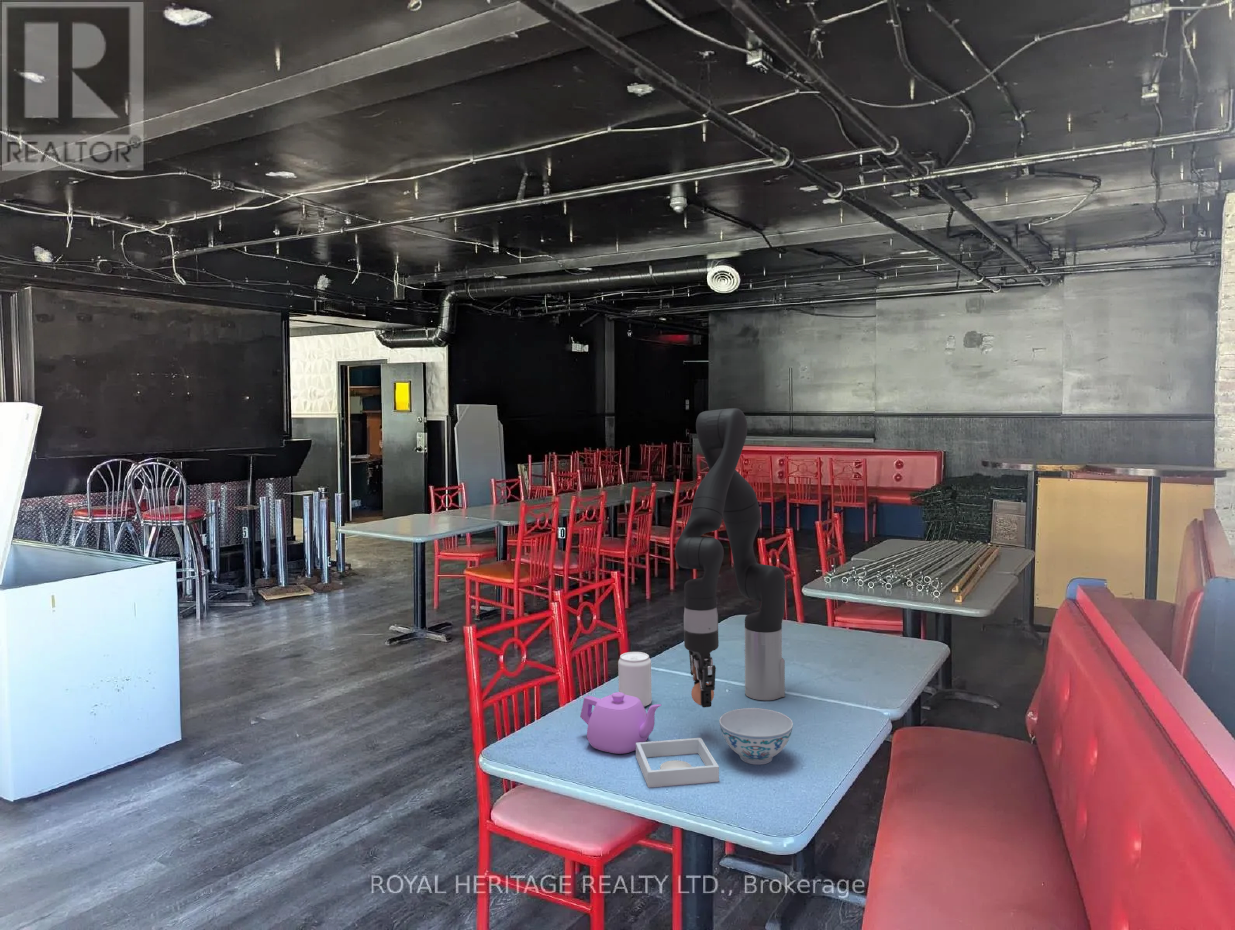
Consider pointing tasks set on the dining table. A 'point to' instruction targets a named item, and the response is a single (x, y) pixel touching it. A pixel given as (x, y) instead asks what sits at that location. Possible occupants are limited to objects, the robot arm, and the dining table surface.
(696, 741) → the grey square frame
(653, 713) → the teapot
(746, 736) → the chinaware
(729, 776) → the dining table surface
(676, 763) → the disc
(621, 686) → the beverage can
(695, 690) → the ball
